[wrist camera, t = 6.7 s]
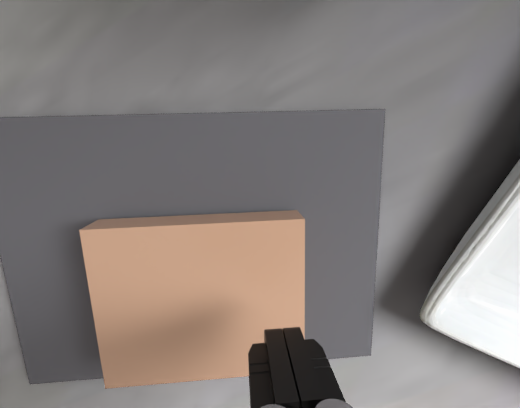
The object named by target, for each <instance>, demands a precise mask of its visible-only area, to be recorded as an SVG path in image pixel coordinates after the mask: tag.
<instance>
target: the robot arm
mask: <svg viewBox="0 0 520 408" xmlns="http://www.w3.org/2000/svg"><path fill="white" fill-rule="evenodd" d="M248 363H249V386H250V405H251V408H353V407H351V406H350V405H349V404H348V403H346V401H345V399H344V397H343V395H342V392H341V390H340V388H339V385H338V383H337V380H336V378H335V376H334V373H333V371H332V369H331V367H330V364H329V361H328V359H327V357H326V354H325V352H324V350H323V347H322V346H321V345H320V344H319V343H318V342H317V341H316V340H315V339H305V340H304V337H303V334H302V331H301V328H300V327H290V328H282V329H281V328H278V329H265V330H264V343H256V344H252V346H251V348H250V350H249V352H248Z"/></svg>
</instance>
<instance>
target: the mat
mask: <svg viewBox="0 0 520 408" xmlns="http://www.w3.org/2000/svg"><path fill="white" fill-rule="evenodd" d="M384 123H385V109H362V110H317V111H272V112H226V113H181V114H136V115H91V116H45V117H0V256H1V261H2V265H3V269H4V274H5V278H6V283H7V287H8V291H9V296H10V300H11V304H12V309H13V313H14V318H15V322H16V326H17V331H18V335H19V339H20V344H21V348H22V353H23V357H24V361H25V366H26V370H27V374H28V379H29V383H30V384H39V383H51V382H63V381H75V380H86V379H98V378H104V377H103V371H102V365H101V359H100V353H99V347H98V341H97V335H96V329H95V323H94V317H93V311H92V305H91V299H90V293H89V287H88V281H87V275H86V269H85V263H84V257H83V251H82V244H81V238H80V232H79V230H80V229H82V228H84V227H86V226H87V225H89V224H91V223H93V222H95V221H96V220H98V219H117V218H138V217H160V216H181V215H203V214H224V213H245V212H267V211H288V210H297V211H298V212H299V213H300V214H301V215H302V216H303V217H304V218H305V339H315V340H316V341H317V342H318V343H319V344H320V345H321V346H322V347H323V350H324V352H325V354H326V357H327V359H335V358H347V357H358V356H370V355H371V346H372V329H373V312H374V295H375V278H376V260H377V243H378V226H379V209H380V191H381V174H382V157H383V140H384Z"/></svg>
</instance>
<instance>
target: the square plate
mask: <svg viewBox="0 0 520 408" xmlns="http://www.w3.org/2000/svg"><path fill="white" fill-rule="evenodd" d="M420 319H421V320H422V322H424V323H425V324H426V325H428V326H429V327H431V328H432V329H434V330H436V331H438V332H440V333H442V334H444V335H446V336H448V337H450V338H452V339H454V340H456V341H458V342H461V343H463V344H465V345H467V346H470V347H472V348H474V349H476V350H478V351H481V352H483V353H485V354H487V355H490V356H492V357H494V358H497V359H499V360H501V361H504V362H506V363H508V364H510V365H513V366H515V367H517V368H519V369H520V159H519V161H518V162H517V164H516V165H515V166H514V168H513V169H512V170H511V172H510V173H509V175H508V176H507V177H506V179H505V180H504V181H503V183H502V184H501V186H500V187H499V188H498V190H497V191H496V192H495V194H494V195H493V197H492V198H491V199H490V201H489V202H488V203H487V205H486V206H485V208H484V209H483V210H482V212H481V213H480V214H479V216H478V217H477V218H476V220H475V221H474V223H473V224H472V225H471V227H470V228H469V229H468V231H467V232H466V233H465V235H464V236H463V238H462V239H461V241H460V242H459V244H458V245H457V247H456V249H455V250H454V252H453V253H452V255H451V256H450V258H449V259H448V261H447V262H446V264H445V265H444V267H443V268H442V270H441V272H440V273H439V275H438V277H437V279H436V280H435V282H434V284H433V285H432V287H431V289H430V291H429V293H428V295H427V297H426V299H425V302H424V304H423V306H422V307H421V310H420Z"/></svg>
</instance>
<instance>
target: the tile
mask: <svg viewBox="0 0 520 408" xmlns="http://www.w3.org/2000/svg"><path fill="white" fill-rule="evenodd" d="M79 232H80V238H81V244H82V251H83V257H84V263H85V269H86V275H87V281H88V287H89V293H90V299H91V305H92V311H93V317H94V323H95V329H96V335H97V341H98V347H99V353H100V359H101V365H102V371H103V377H104V384H105V389H107V388H118V387H130V386H141V385H153V384H164V383H176V382H187V381H199V380H210V379H222V378H233V377H245V376H249V363H248V352H249V350H250V348H251V346H252V344H256V343H264V330H265V329H278V328H281V329H282V328H290V327H300V328H301V331H302V334H303V337H304V340H305V218H304V217H303V216H302V215H301V214H300V213H299V212H298V211H297V210H288V211H267V212H245V213H224V214H203V215H181V216H160V217H138V218H117V219H98V220H96V221H95V222H93V223H91V224H89V225H87V226H86V227H84V228H82V229H80V230H79Z"/></svg>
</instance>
